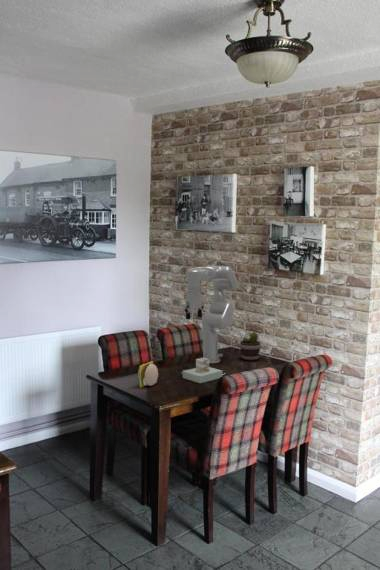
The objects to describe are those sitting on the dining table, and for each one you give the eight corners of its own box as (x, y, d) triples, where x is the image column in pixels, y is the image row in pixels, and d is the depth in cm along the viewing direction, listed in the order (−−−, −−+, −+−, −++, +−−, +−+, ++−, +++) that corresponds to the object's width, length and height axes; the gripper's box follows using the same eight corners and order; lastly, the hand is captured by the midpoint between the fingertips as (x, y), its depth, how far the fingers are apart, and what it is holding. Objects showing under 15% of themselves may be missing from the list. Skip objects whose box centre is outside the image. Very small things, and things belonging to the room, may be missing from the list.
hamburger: (148, 388, 307) (148, 367, 306) (136, 386, 311) (136, 365, 310) (161, 383, 317) (160, 362, 316) (148, 381, 322) (148, 360, 320)
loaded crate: (202, 369, 332) (202, 357, 331) (209, 370, 328) (209, 359, 327) (196, 370, 328) (195, 359, 327) (202, 372, 324) (202, 360, 323)
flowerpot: (234, 358, 373) (234, 329, 371) (252, 355, 382) (252, 326, 379) (248, 363, 361) (248, 332, 359) (266, 359, 369) (266, 330, 367)
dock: (204, 372, 340) (204, 365, 340) (222, 377, 329) (222, 370, 329) (182, 377, 328) (182, 371, 328) (200, 383, 317) (200, 376, 317)
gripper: (199, 288, 348) (200, 315, 350) (179, 291, 337) (179, 319, 339) (208, 289, 343) (208, 317, 345) (187, 292, 331) (187, 320, 333)
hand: (193, 318), depth 342 cm, fingers open, 9 cm apart
